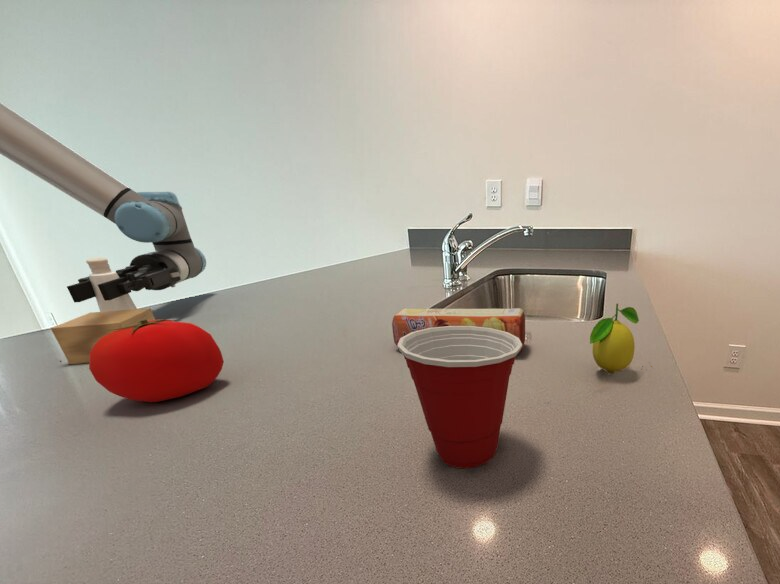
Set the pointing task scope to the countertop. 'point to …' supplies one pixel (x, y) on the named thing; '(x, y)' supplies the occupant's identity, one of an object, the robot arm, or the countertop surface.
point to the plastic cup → (462, 387)
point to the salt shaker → (102, 275)
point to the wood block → (94, 331)
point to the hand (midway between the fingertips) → (88, 293)
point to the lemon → (614, 341)
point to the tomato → (156, 360)
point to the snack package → (459, 320)
